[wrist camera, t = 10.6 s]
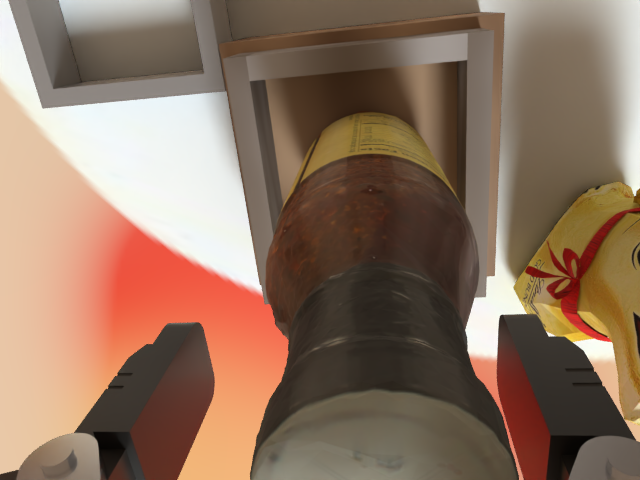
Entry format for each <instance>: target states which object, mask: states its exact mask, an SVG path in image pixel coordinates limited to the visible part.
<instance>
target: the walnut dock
mask: <svg viewBox="0 0 640 480" xmlns="http://www.w3.org/2000/svg"><path fill="white" fill-rule="evenodd" d="M504 16H505V13H489V12H478V13H469V14H460V15H451V16H442V17H432V18H423V19H414V20H405V21H396V22H387V23H378V24H369V25H359V26H350V27H341V28H332V29H323V30H314V31H305V32H296V33H286V34H277V35H268V36H259V37H250V38H245V39H240V40H235V41H231V42H226V43H221V44H219V50H220V55H221V61H222V67H223V73H224V79H225V84H226V90H227V96H228V102H229V108H230V114H231V119H232V125H233V131H234V137H235V143H236V148H237V154H238V160H239V166H240V172H241V178H242V183H243V189H244V195H245V201H246V207H247V212H248V218H249V224H250V230H251V236H252V242H253V247H254V253H255V259H256V265H257V271H258V276H259V282H260V285H262V291H263V297H264V303H265V304H269V302H268V299H267V296H266V285H265V278H266V260H267V256H268V251H269V247H270V245H271V243H272V240H273V236H274V234H275V229H276V225H277V221H278V218H279V215H280V213H281V210H282V208H283V205H284V203H285V201H286V199H287V197H288V194H289V192H290V190H291V188H292V185H293V183H294V181H295V179H296V176H297V174H298V172H299V169H300V167H301V165H302V163H303V160H304V158H305V156H306V154H307V152H308V150H309V148H310V147H311V145H312V144H313V142H314V140H315V139H317V138H318V136H319V135H320V133H321V132H322V131H323V130H324V129H325V128H327V127H328V126H329V125H330V124H332V123H334V122H335V121H337V120H339V119H341V118H343V117H346V116H349V115H353V114H356V113H357V112H359V111H373V112H376V113H384V114H388V115H392V116H396V117H398V118H399V119H401V120H403V121H404V122H406V123H407V124H409V125H410V126H411V127H412V128H414V129H415V130H416V131H417V132H418V133H419V135H420V136H421V137H422V138H423V140H424V141H425V143H426V144H427V146H428V148H429V149H430V151H431V153H432V154H433V156H434V158H435V159H436V161H437V163H438V164H439V166H440V167H441V169H442V171H443V173H444V174H445V176H446V178H447V180H448V182H449V183H450V185H451V187H452V189H453V190H454V192H455V194H456V196H457V198H458V200H459V201H460V203H461V205H462V206H463V208H464V210H465V212H466V214H467V216H468V219H469V221H470V223H471V225H472V228H473V231H474V235H475V238H476V242H477V247H478V255H479V270H480V271H479V281H478V287H477V291H476V294H475V297H486V278H487V276H495V254H496V227H497V201H498V175H499V148H500V122H501V96H502V69H503V43H504Z"/></svg>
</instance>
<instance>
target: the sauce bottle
mask: <svg viewBox="0 0 640 480" xmlns="http://www.w3.org/2000/svg"><path fill="white" fill-rule="evenodd" d="M479 271H480V270H479V255H478V247H477V242H476V238H475V235H474V231H473V228H472V225H471V223H470V221H469V219H468V216H467V214H466V212H465V210H464V208H463V206H462V205H461V203H460V201H459V200H458V198H457V196H456V194H455V192H454V190H453V189H452V187H451V185H450V183H449V182H448V180H447V178H446V176H445V174H444V173H443V171H442V169H441V167H440V166H439V164H438V163H437V161H436V159H435V158H434V156H433V154H432V153H431V151H430V149H429V148H428V146H427V144H426V143H425V141H424V140H423V138H422V137H421V136H420V135H419V133H418V132H417V131H416V130H415V129H414V128H412V127H411V126H410V125H409V124H407V123H406V122H404V121H403V120H401V119H399V118H398V117H396V116H392V115H388V114H384V113H376V112H373V111H359V112H357V113H356V114H353V115H349V116H346V117H343V118H341V119H339V120H337V121H335V122H334V123H332V124H330V125H329V126H328V127H327V128H325V129H324V130H323V131H322V132H321V133H320V135H319V136H318V138H317V139H315V140H314V142H313V144H312V145H311V147H310V148H309V150H308V152H307V154H306V156H305V158H304V160H303V163H302V165H301V167H300V169H299V172H298V174H297V176H296V179H295V181H294V183H293V185H292V188H291V190H290V192H289V194H288V197H287V199H286V201H285V203H284V205H283V208H282V210H281V213H280V215H279V218H278V221H277V225H276V229H275V234H274V236H273V240H272V243H271V245H270V247H269V251H268V256H267V260H266V278H265V285H266V296H267V299H268V302H269V304H270V305H271V307H272V310H273V315H274V318H275V324H276V326H277V327H278V328H279V330H280V331H281V332H282V334H283V335H285V336H286V337H287V339H288V340H289V344H288V351H289V354H288V358H287V365H286V367H285V372H284V374H283V377H282V381H281V383H280V384H279V385H278V387H277V388H276V390H275V392H274V393H273V395H272V396H271V398H270V400H269V403H268V405H267V408H266V410H265V414H264V418H263V420H262V423H261V427H260V431H259V433H258V435H257V439H256V446H255V450H254V455H253V461H252V466H251V472H250V480H519V475H518V471H517V467H516V463H515V459H514V456H513V453H512V451H511V448H510V444H509V439H508V435H507V431H506V428H505V424H504V420H503V417H502V414H501V412H500V410H499V408H498V406H497V404H496V402H495V400H494V399H493V397H492V395H491V394H490V393H489V391H488V389H487V388H486V387H485V385H484V384H483V383H482V382H481V381H480V380H479V379H478V378H477V377H476V375H475V372H474V370H473V367H472V365H471V362H470V358H469V354H468V351H467V336H466V332H465V329H466V325H467V322H468V318H469V315H470V312H471V308H472V304H473V301H474V297H475V294H476V291H477V287H478V281H479Z"/></svg>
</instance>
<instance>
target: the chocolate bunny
mask: <svg viewBox="0 0 640 480" xmlns="http://www.w3.org/2000/svg"><path fill="white" fill-rule="evenodd" d="M513 288H514V290H515V292H516V294H517V296H518V298H519V300H520V302H521V303H522V305H523V307H524V309H525V311H526V313H527V314H537V315H538V317H539V319H540V321H541V323H542V325H543V327H544V329H545V331H547V332H549V333H551V334H553V335H555V336H565V337H566V338H567V339H569V340H570V341H571V342H575V341H581V340H587V339H597V340H601V341H608V342H612V343H613V348H614V354H615V360H616V366H617V371H618V382H619V398H620V404H621V408H622V412H623V415H624V419H625V420H628V421H630V422H632V423H635V424H637V425H639V426H640V189H639V190H638V191H637V193H636V196H635V197H634V194H633V192H632V189H631V187H629V186H627V185H625V184H623V183H621V182H619V181H617V182H613V183H609V184H606V185H602V186H598V187H594V188H591V189H588V190H587V191H586V192H584V193H583V194H582V195H581V196H580V197H579V198H577V200H576V201H575V202H574V203H573V204H572V206H571V207H570V208H569V209H568V210H567V211H566V213H565V214H564V215H563V216H562V217H561V218H560V220H559V221H558V223H557V224H556V225H555V227H554V228H553V230H552V231H551V232H550V234H549V235H548V237H547V238H546V239H545V241H544V242H543V244H542V245H541V247H540V248H539V249H538V251H537V252H536V254H535V255H534V256H533V258H532V259H531V261H530V262H529V264H528V265H527V267H526V269H525V270H524V271H523V273H522V274H521V275H520V277H519V278H518V280H517V282H516V284H515V285H514V287H513ZM607 337H609V338H607Z"/></svg>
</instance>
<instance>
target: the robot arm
mask: <svg viewBox="0 0 640 480" xmlns="http://www.w3.org/2000/svg"><path fill="white" fill-rule="evenodd" d="M214 383H215V382H214V372H213V368H212V364H211V359H210V356H209V351H208V347H207V342H206V338H205V334H204V330H203V327H202V326H201V324H200V323H197V322H195V323H169V324H167V325H166V326H165V327H164V328H163V330H162V331H161V333H160V334H159V336H158V337H157V339H156V340H155V342H154V343H153V344H146V345H145V346H144V347H142V348H141V349H140V350H138V351H137V352H136V353H134V354H133V355H132V356H130V357H129V358H128V359H127V361H126V362H125V364H124V365H123V366H122V368H121V369H120V370H119V372H118V375H117V376H115V377H114V379H113V380H112V382H111V383H110V384H109V386H108V389H106V390H105V391H104V393H103V394H102V395H101V397H100V398H99V399H98V401H97V402H96V404H95V405H94V406H93V408H92V409H91V410H90V412H89V413H88V414H87V416H86V417H85V419H84V420H83V421H82V423H81V424H80V425H79V427H78V428H77V430H76V431H75V432H74V433H71V434H67V435H63V436H59V437H57V438H55V439H52V440H50V441H48V442H47V443H45V444H43V445H42V446H40V447H39V448H37V449H36V450H35V451H33V452H32V453H31V454H30V455H29V456H28V457H27V458H26V460H25V461H24V462H23V464H22V465H21V467H20V469H19V470H16V471H12V472H8V473H4V474H0V480H177V479H178V477H179V474H180V472H181V470H182V468H183V465H184V463H185V461H186V458H187V456H188V454H189V451H190V449H191V447H192V445H193V442H194V440H195V438H196V435H197V433H198V431H199V429H200V426H201V424H202V422H203V419H204V417H205V415H206V412H207V410H208V408H209V406H210V403H211V401H212V398H213V394H214ZM497 385H498V392H499V397H500V401H501V405H502V408H503V412H504V415H505V418H506V421H507V425H508V428H509V432H510V435H511V438H512V441H513V445H514V448H515V451H516V455H517V458H518V462H519V465H520V468H521V471H522V474H523V478H524V480H640V442H638V441H636V439H635V438H634V436H633V434H632V432H631V431H630V429H629V427H628V426H627V424H626V422H625V421H624V419H623V417H622V416H621V414H620V412H619V410H618V409H617V407H616V405H615V404H614V402H613V400H612V398H611V397H610V395H609V394H608V392H607V390H606V388H605V387H604V386H602V382H601V380H600V378H599V376H598V375H597V373H596V372H594V368H593V366H592V364H591V363H590V361H589V359H588V358H587V356H586V354H585V352H584V351H583V350H582V349H580V348H579V347H578V346H577V345H575V344H574V343H573V342H571V341H570V340H569V339H567V338H566V337H565V336H556V337H548V335H547V333H546V331H545V329H544V327H543V325H542V323H541V321H540V319H539V317H538V315H537V314H516V315H501V316H500V319H499V331H498V354H497Z"/></svg>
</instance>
